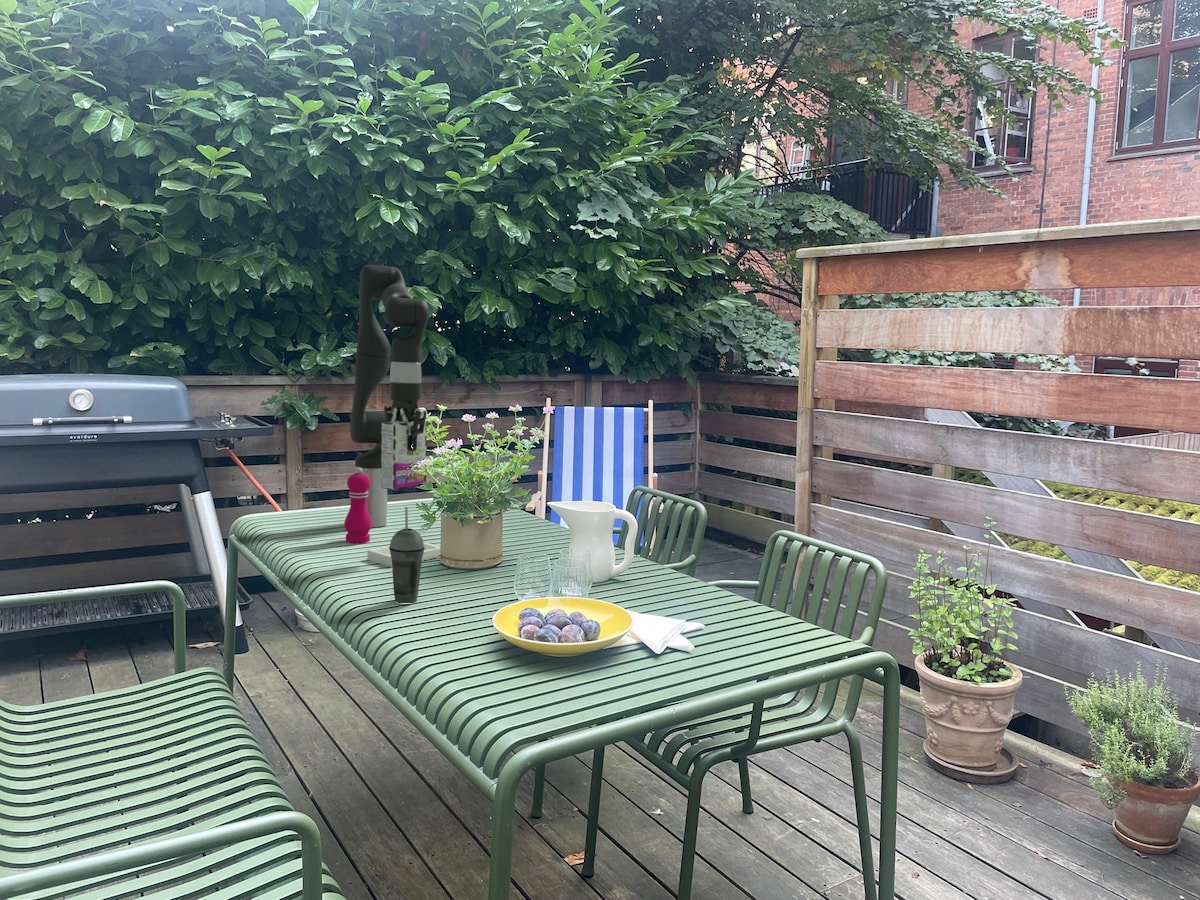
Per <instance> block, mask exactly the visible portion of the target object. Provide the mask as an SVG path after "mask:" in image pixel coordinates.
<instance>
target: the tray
mask: <svg viewBox="0 0 1200 900" xmlns="http://www.w3.org/2000/svg"><path fill="white" fill-rule="evenodd" d="M389 547H390V545H388V546H383V547H379V548H371V549H367V553H366V555H367V559H368V561H370V560H371V562H374V563H378V564H381V565H383V566H387V567H390V568H392V558H391V554H390V549H389ZM424 547H425V549H424V553H423V558H422V562H425V561H424V560H427V561H430V560H429V559H432V560H434V559H433V558H437V557H439V555H440V547H441V546H438V545H435V544H431V543H428V542H424ZM367 559H366V560H367ZM437 559H438V558H437Z"/></svg>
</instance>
